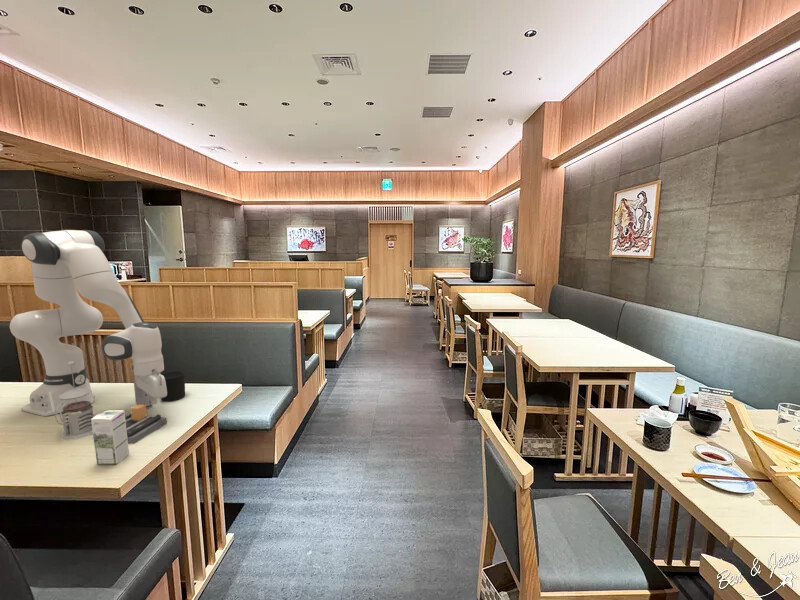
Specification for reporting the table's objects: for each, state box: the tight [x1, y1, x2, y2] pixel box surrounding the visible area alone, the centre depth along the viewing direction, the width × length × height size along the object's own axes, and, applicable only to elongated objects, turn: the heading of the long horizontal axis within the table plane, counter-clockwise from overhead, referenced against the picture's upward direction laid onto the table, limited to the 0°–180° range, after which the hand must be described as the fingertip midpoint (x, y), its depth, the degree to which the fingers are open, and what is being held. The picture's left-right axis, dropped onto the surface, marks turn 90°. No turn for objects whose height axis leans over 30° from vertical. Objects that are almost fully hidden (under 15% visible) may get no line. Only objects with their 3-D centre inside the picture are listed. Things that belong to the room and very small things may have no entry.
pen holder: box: [160, 370, 186, 403], centre depth 150 cm, size 9×9×10 cm
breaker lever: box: [130, 404, 148, 423], centre depth 125 cm, size 3×3×5 cm
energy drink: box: [133, 378, 154, 410], centre depth 140 cm, size 5×5×12 cm
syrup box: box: [91, 409, 130, 465], centre depth 106 cm, size 6×6×14 cm
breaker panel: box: [125, 413, 168, 445], centre depth 123 cm, size 14×14×4 cm
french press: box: [54, 361, 94, 441], centre depth 120 cm, size 10×12×25 cm
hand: (152, 403), depth 131 cm, fingers closed
